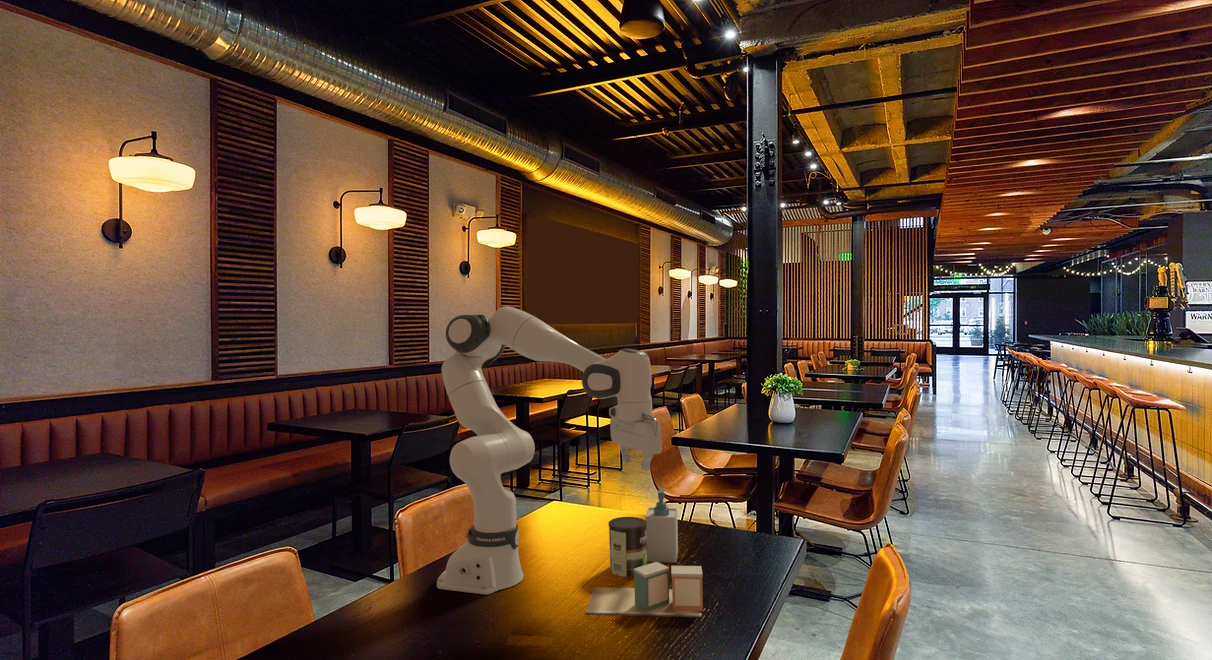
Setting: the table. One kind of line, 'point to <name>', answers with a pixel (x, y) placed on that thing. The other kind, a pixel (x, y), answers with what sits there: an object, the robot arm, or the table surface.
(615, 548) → the coffee can
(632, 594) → the shelf board
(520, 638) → the table surface
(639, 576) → the green tin
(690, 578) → the rust tin
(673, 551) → the soap bottle
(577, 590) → the table surface
